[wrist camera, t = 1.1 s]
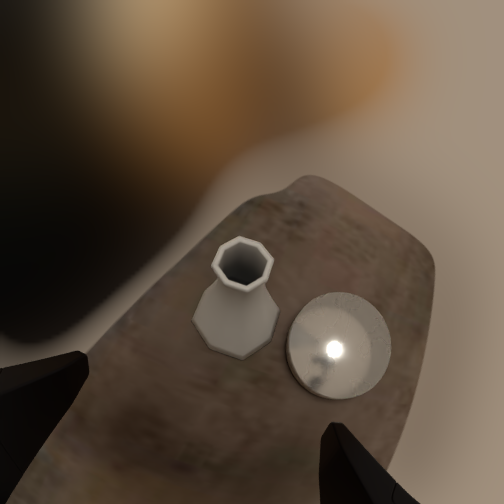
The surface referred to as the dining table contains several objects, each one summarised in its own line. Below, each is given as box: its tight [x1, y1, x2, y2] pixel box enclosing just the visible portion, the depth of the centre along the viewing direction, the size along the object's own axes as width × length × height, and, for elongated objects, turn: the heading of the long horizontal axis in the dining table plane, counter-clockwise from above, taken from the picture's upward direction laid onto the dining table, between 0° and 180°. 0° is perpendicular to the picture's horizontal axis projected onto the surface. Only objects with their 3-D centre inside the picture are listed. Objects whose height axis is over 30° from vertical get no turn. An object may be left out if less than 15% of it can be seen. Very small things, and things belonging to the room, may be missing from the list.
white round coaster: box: [286, 292, 391, 399], centre depth 21 cm, size 9×9×2 cm
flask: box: [191, 236, 280, 360], centre depth 19 cm, size 7×7×10 cm
